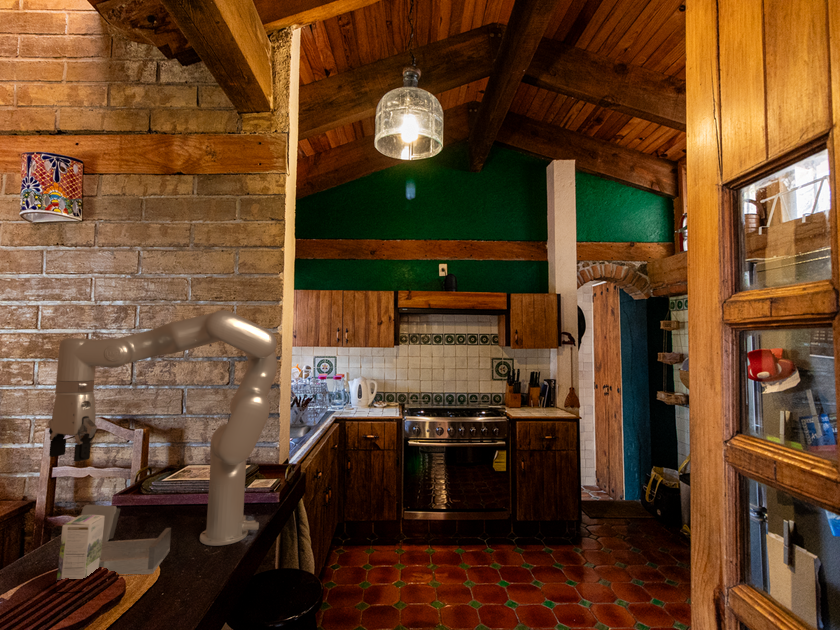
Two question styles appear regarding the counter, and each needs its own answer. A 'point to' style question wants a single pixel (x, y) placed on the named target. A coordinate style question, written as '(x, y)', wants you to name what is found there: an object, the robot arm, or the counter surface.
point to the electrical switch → (110, 515)
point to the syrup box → (80, 547)
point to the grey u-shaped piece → (135, 554)
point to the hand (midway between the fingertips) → (69, 458)
